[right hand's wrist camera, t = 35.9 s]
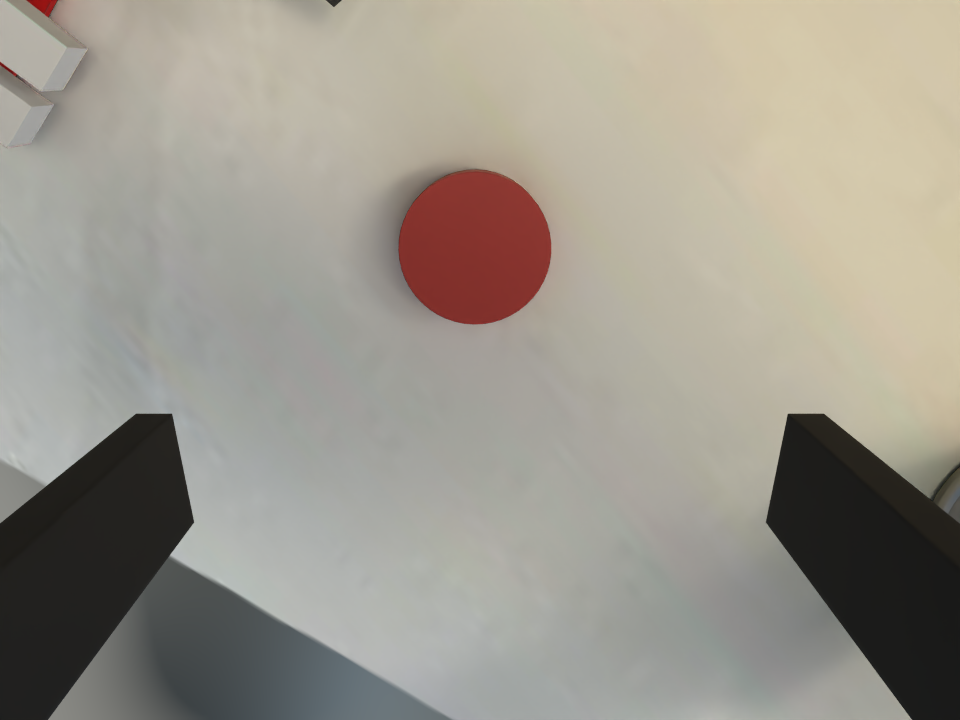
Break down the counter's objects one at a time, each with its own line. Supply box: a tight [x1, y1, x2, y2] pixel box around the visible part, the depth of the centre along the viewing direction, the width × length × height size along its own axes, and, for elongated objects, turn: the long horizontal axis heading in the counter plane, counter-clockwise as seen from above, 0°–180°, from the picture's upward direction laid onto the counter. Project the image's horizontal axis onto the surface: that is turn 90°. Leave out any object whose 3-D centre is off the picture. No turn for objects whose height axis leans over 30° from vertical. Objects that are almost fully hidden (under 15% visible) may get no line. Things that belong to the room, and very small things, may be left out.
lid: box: [399, 169, 551, 324], centre depth 37 cm, size 9×9×2 cm
